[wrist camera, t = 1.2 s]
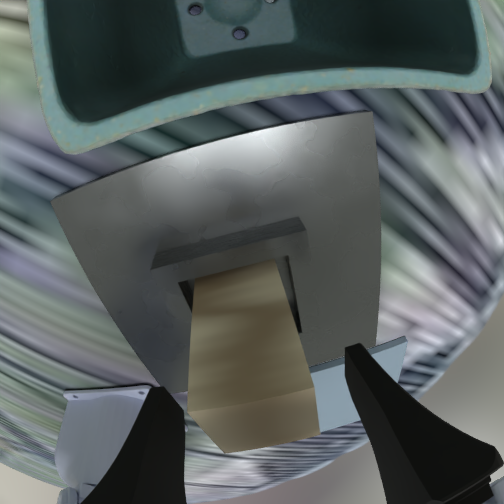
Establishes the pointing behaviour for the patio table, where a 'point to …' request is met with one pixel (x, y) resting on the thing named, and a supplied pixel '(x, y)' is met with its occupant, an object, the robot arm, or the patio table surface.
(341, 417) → the board
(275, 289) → the peg
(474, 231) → the patio table surface
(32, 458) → the patio table surface
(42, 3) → the flower pot
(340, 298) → the socket base
